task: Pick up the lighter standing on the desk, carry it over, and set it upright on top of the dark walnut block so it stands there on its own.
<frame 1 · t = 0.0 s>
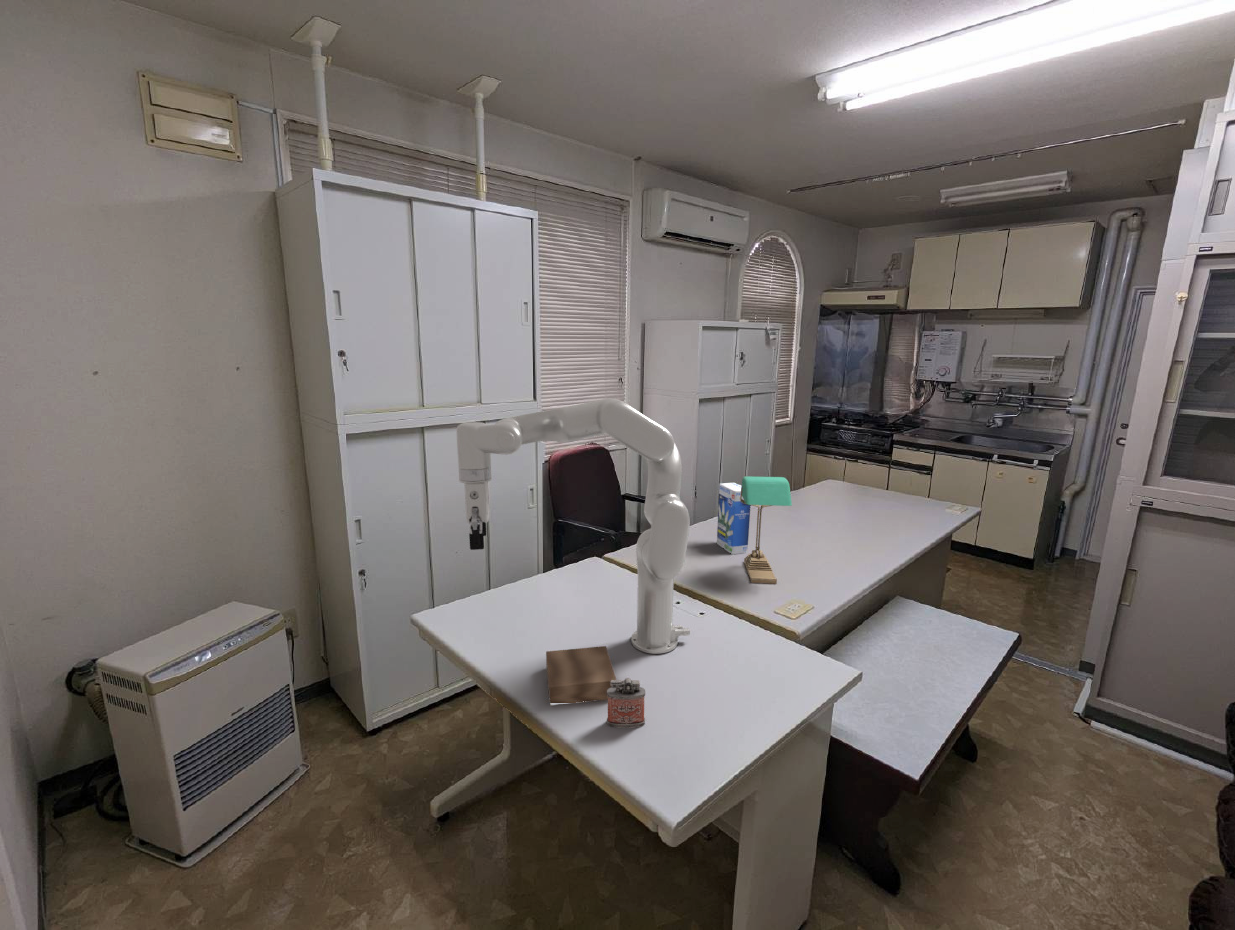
hand: (478, 542, 133), 31 cm above the table, tool pointing down, fingers open, 9 cm apart
string lights box: (732, 548, 219), on the table
lighter: (625, 723, 115), on the table
walnut block: (579, 684, 129), on the table
banker's lamp: (759, 573, 194), on the table
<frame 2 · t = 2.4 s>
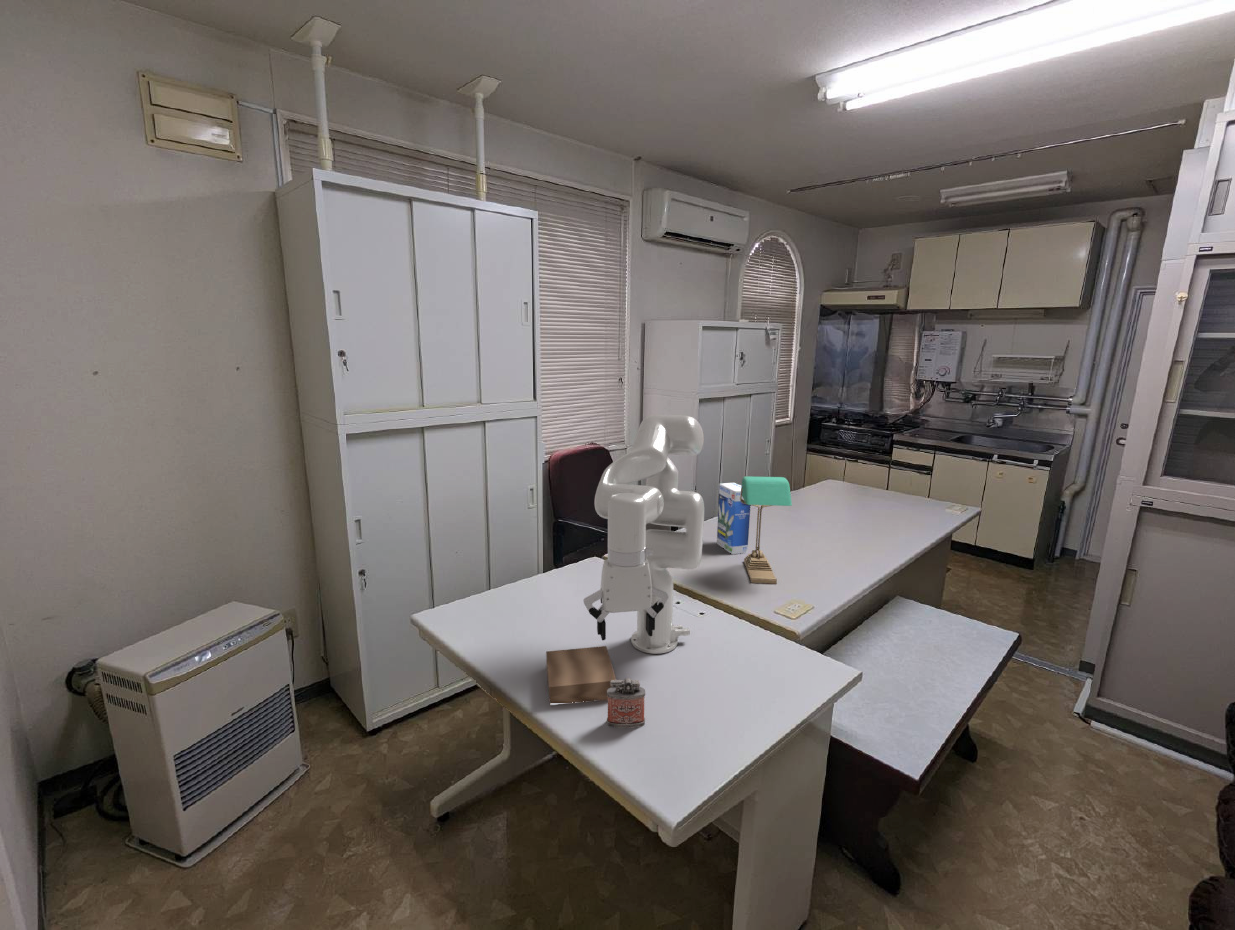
hand: (626, 635, 111), 20 cm above the table, tool pointing down, fingers open, 9 cm apart
nothing on the table moved.
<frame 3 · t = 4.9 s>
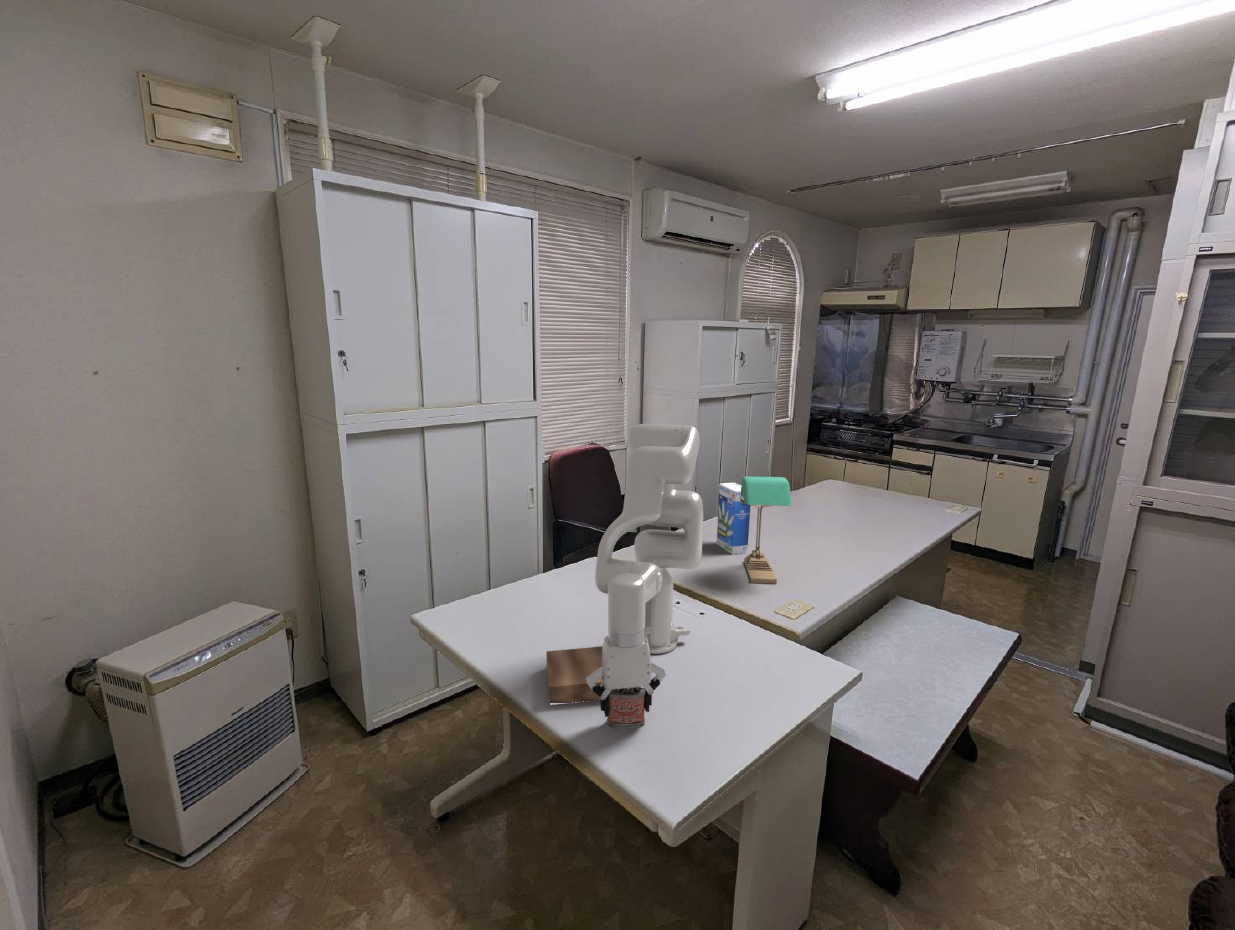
hand: (626, 710, 114), 3 cm above the table, tool pointing down, fingers closed on lighter, 8 cm apart
lighter: (625, 723, 115), on the table, touching gripper
everything else where it was.
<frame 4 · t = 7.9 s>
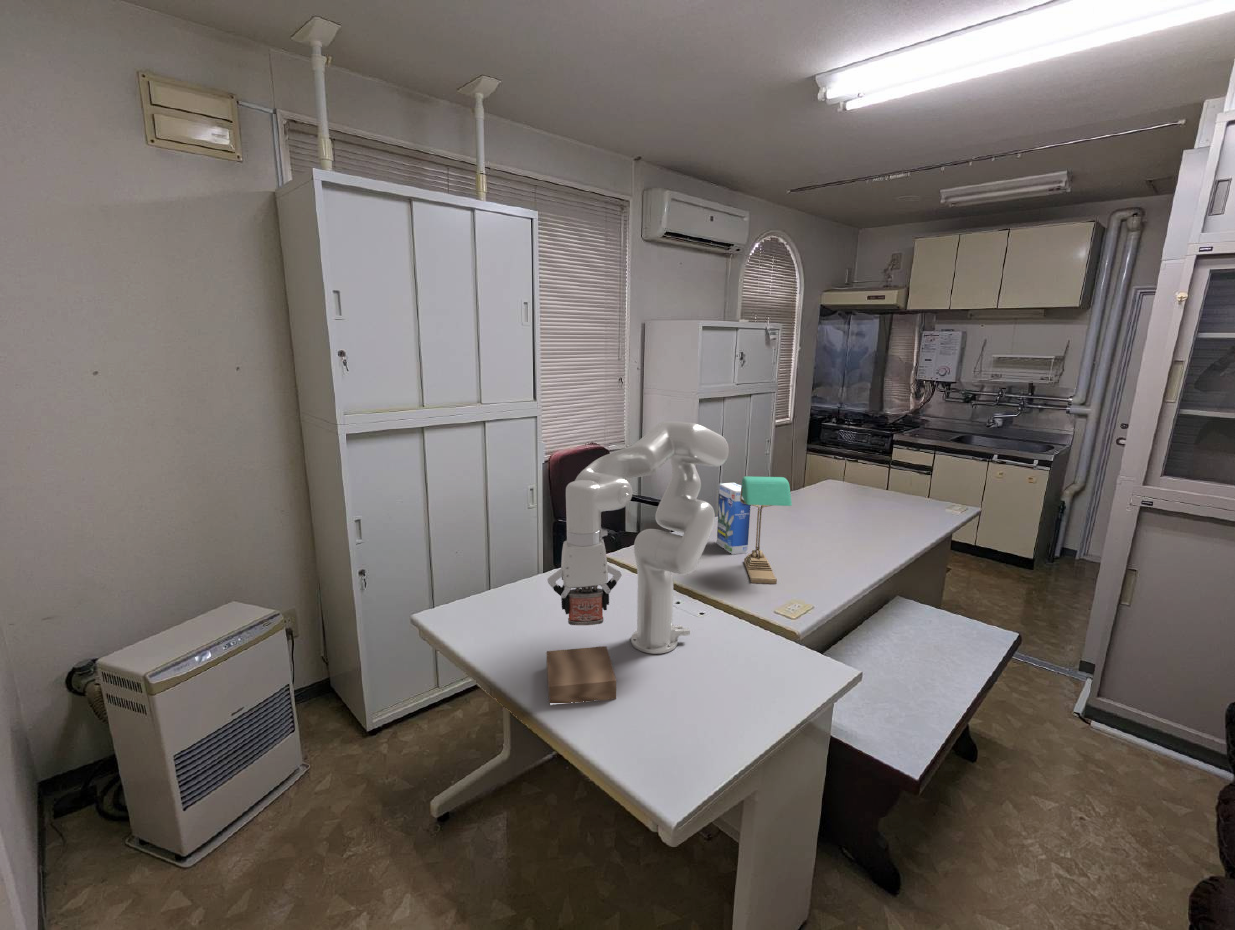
hand: (585, 609, 123), 20 cm above the table, tool pointing down, fingers closed on lighter, 8 cm apart
lighter: (585, 622, 124), point 16 cm above the table, touching gripper
everything else where it was.
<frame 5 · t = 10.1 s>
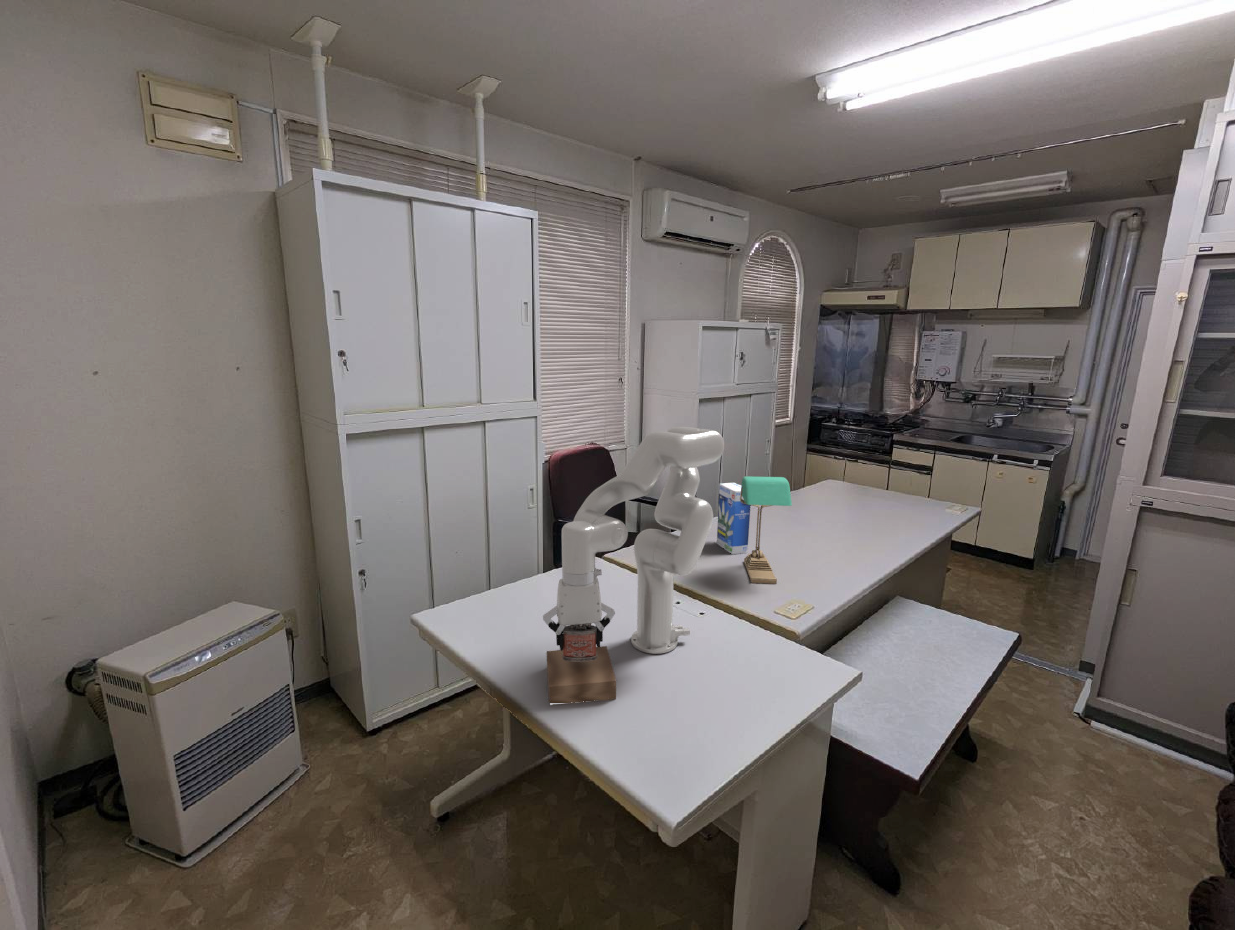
hand: (579, 645, 127), 10 cm above the table, tool pointing down, fingers closed on lighter, 8 cm apart
lighter: (579, 658, 128), point 6 cm above the table, touching gripper
everything else where it was.
when the fingers open (9 cm above the table, at t = 11.2 s): lighter drops 2 cm, resting on walnut block.
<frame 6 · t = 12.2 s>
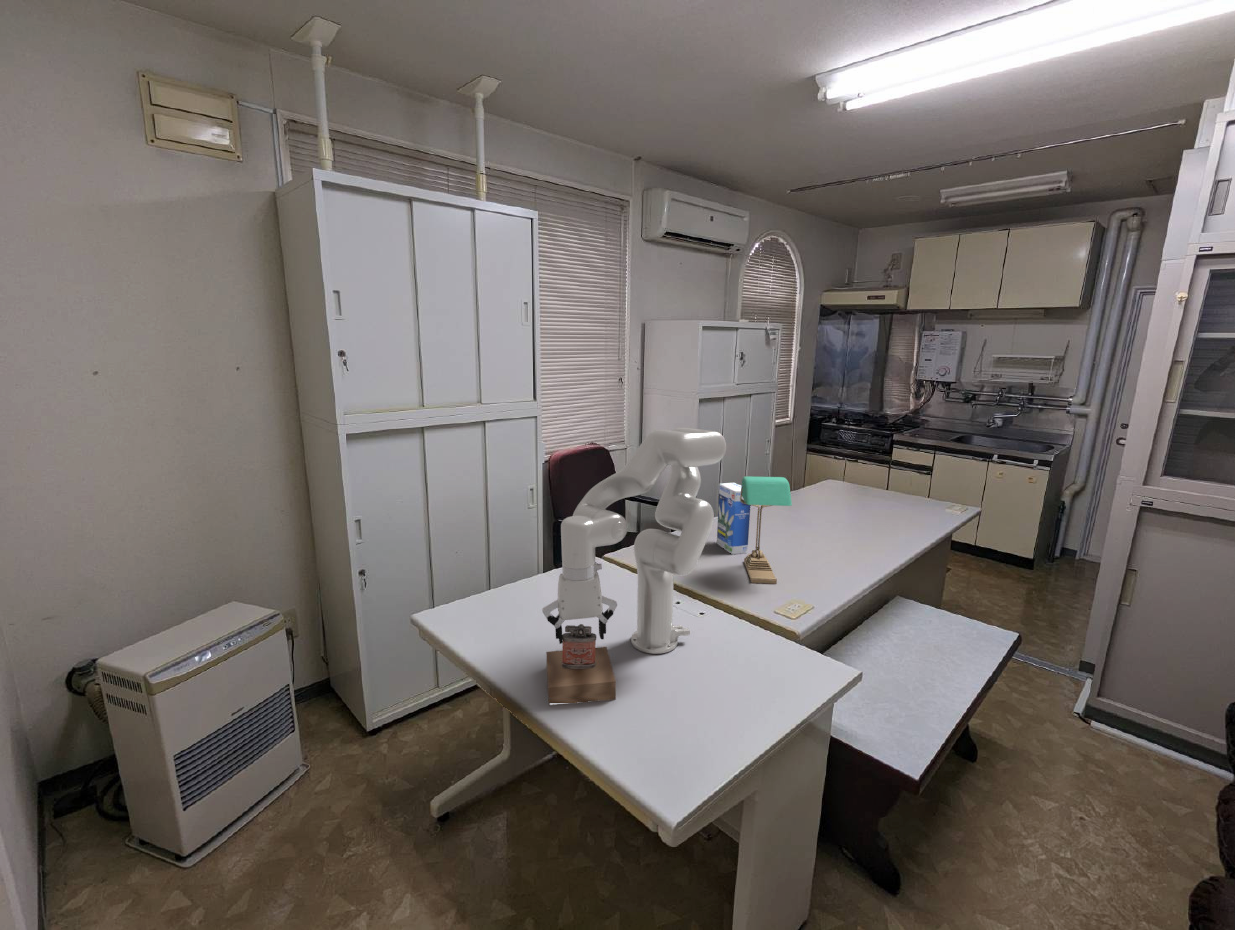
hand: (581, 638, 127), 11 cm above the table, tool pointing down, fingers open, 9 cm apart
lighter: (578, 665, 128), point 4 cm above the table, touching gripper, walnut block
walnut block: (579, 684, 129), on the table, touching lighter
everything else where it was.
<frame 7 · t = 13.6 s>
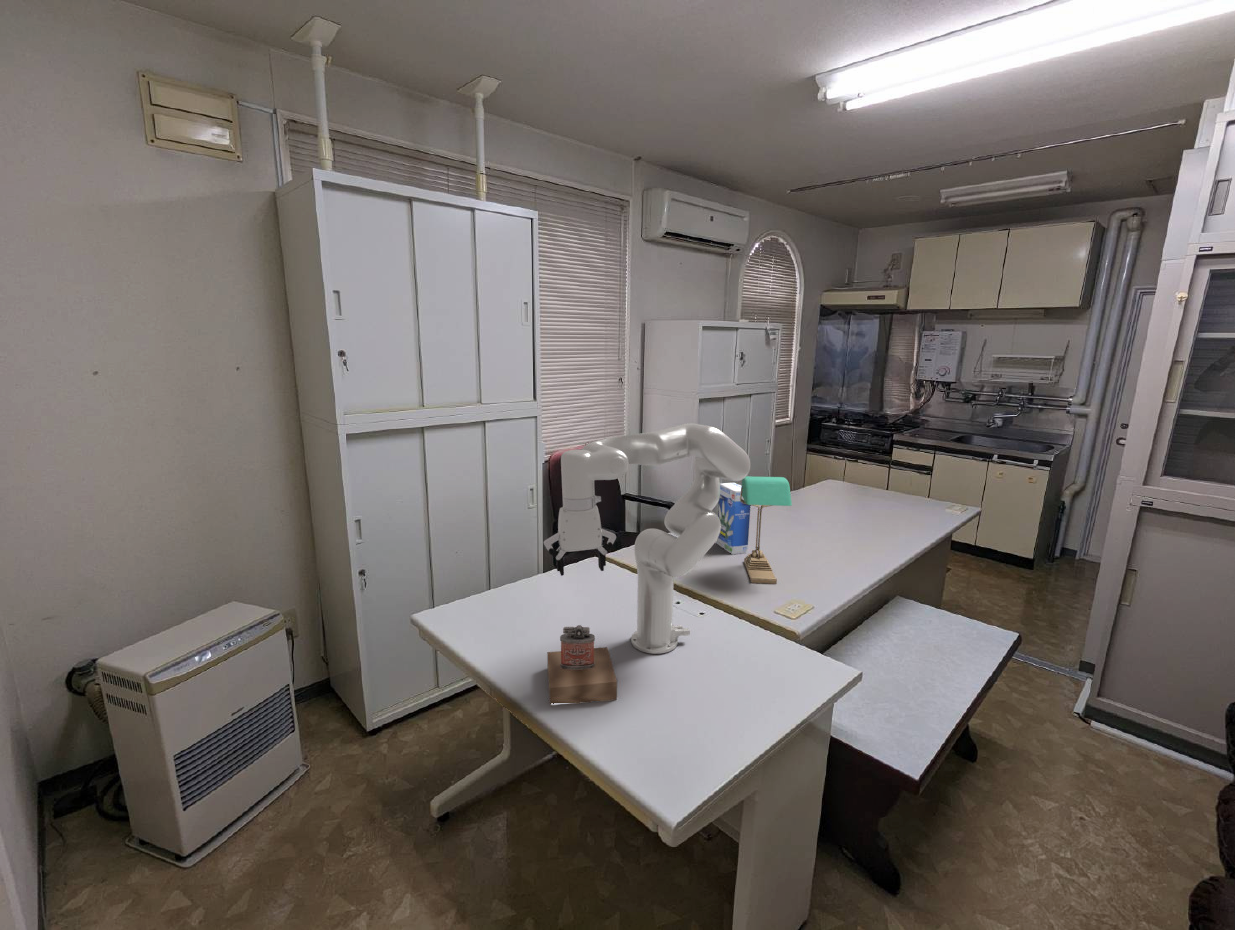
hand: (581, 571, 130), 25 cm above the table, tool pointing down, fingers open, 9 cm apart
lighter: (577, 666, 128), point 4 cm above the table
walnut block: (580, 685, 129), on the table
everything else where it was.
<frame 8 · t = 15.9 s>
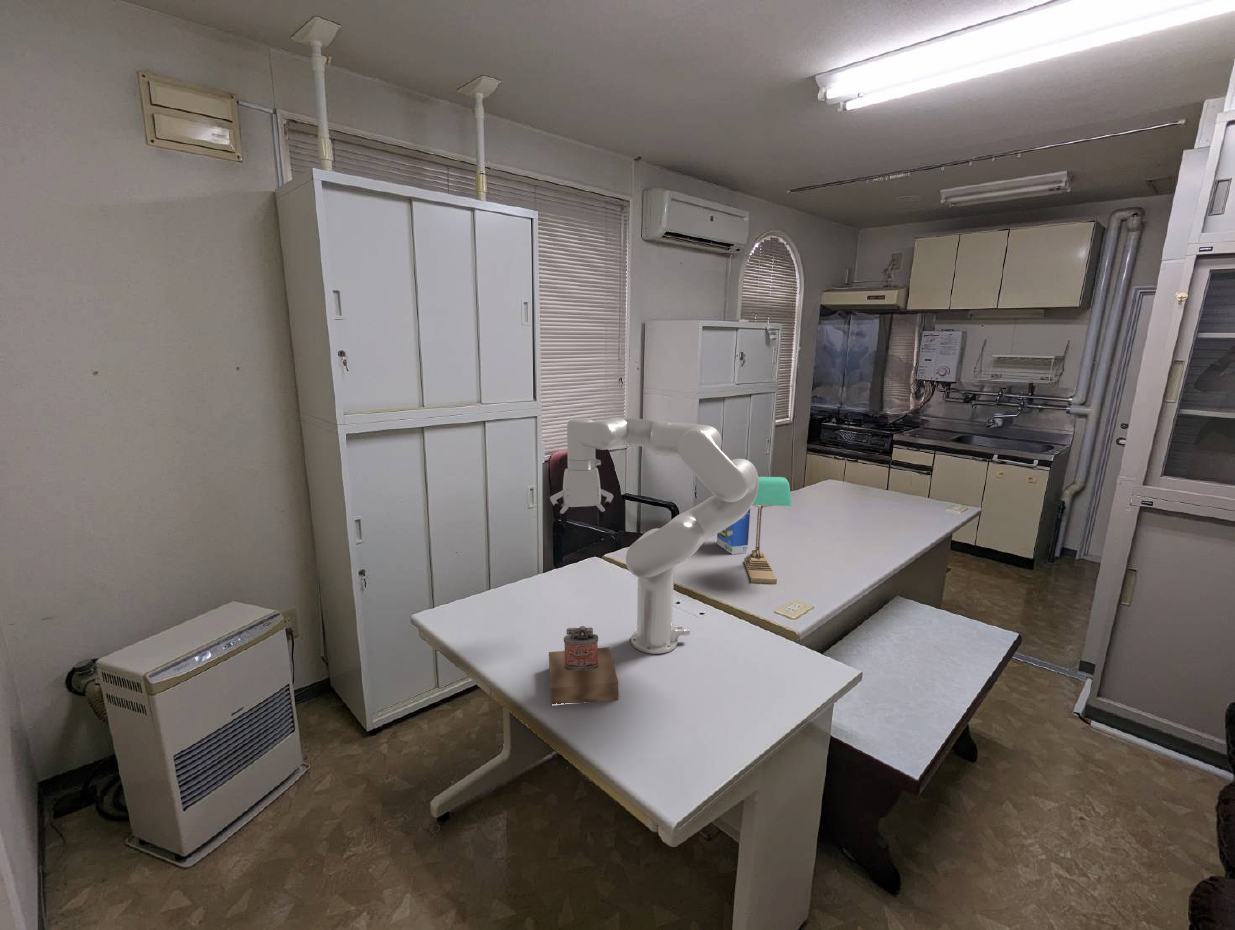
hand: (582, 525, 150), 30 cm above the table, tool pointing down, fingers open, 9 cm apart
lighter: (581, 666, 128), point 4 cm above the table
everything else where it was.
at the end: lighter inside the target area on the walnut block (0.1 cm from its centre), point 4.9 cm above the walnut block's base; lighter tilted 1°; the gripper is holding nothing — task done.
